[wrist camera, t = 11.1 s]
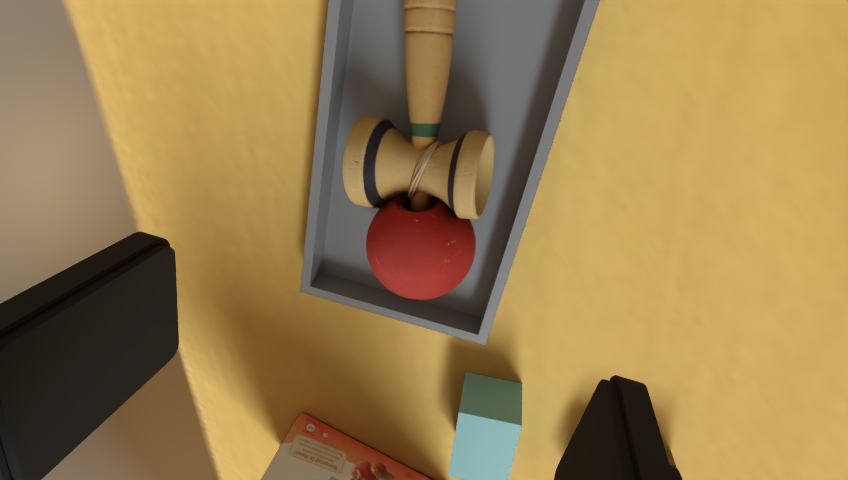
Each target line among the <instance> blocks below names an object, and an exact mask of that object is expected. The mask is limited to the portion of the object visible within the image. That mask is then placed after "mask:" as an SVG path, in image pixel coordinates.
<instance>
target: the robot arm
mask: <svg viewBox="0 0 848 480" xmlns="http://www.w3.org/2000/svg"><path fill="white" fill-rule="evenodd" d="M178 345H179V336H178V312H177V287H176V263H175V252H174V250H173V249H172V248H171V247H170V244H169V242H168V241H167V240H166V239H164V238H161V237H157V236H154V235H151V234H147V233H144V232H136V233H134V234H132V235H130V236H128V237H126V238H124V239H122V240H120V241H119V242H117V243H115V244H113V245H111V246H109V247H107V248H105V249H104V250H101V251H100V252H98V253H96V254H94V255H92V256H90V257H88V258H86V259H84V260H83V261H81V262H79V263H77V264H75V265H73V266H71V267H69V268H67V269H65V270H64V271H62V272H60V273H58V274H56V275H54V276H52V277H50V278H48V279H47V280H45V281H43V282H41V283H39V284H37V285H35V286H33V287H31V288H29V289H28V290H26V291H24V292H22V293H20V294H18V295H16V296H14V297H12V298H11V299H9V300H7V301H5V302H3V303H1V304H0V480H41V479H42V478H43V477H44V476H46V475H47V474H48V473H49V472H50V471H51V470H52V469H53V468H54V467H55V466H56V465H58V464H59V463H60V462H61V461H62V460H63V459H64V458H65V457H66V456H67V455H68V454H69V453H70V452H72V451H73V450H74V449H75V448H76V447H77V446H78V445H79V444H80V443H81V442H82V441H83V440H85V439H86V438H87V437H88V436H89V435H90V434H91V433H92V432H93V431H94V430H95V429H96V428H98V427H99V426H100V425H101V424H102V423H103V422H104V421H105V420H106V419H107V418H108V417H109V416H110V415H112V414H113V413H114V412H115V411H116V410H117V409H118V408H119V407H120V406H121V405H122V404H123V403H125V401H127V400H128V399H129V398H130V397H131V396H132V395H133V394H134V393H135V392H136V391H138V390H139V389H140V388H141V387H142V386H143V385H144V384H145V383H146V382H147V381H148V380H149V379H150V378H152V377H153V376H154V375H155V374H156V373H157V372H158V371H159V370H160V369H161V368H162V367H164V366H165V365H166V364H167V363H168V362H169V361H170V360H171V359H172V358H173V356H174V355H175V353H176V351H177V349H178ZM554 480H682V477H681V475H680V473H679V470H678V469H677V468H676V467H675V466H674V465H671V464H669V461H668V458H667V454H666V451H665V447H664V444H663V441H662V437H661V434H660V431H659V427H658V424H657V420H656V417H655V414H654V410H653V407H652V403H651V400H650V397H649V393H648V390H647V387H646V385H644V384H643V383H640V382H637V381H633V380H630V379H627V378H623V377H620V376H617V375H615V376H613V377H611V379H610V380H609V381H608V380H604V379H602V380H601V381H600V382H599V384H598V386H597V388H596V390H595V392H594V394H593V396H592V398H591V400H590V402H589V404H588V406H587V408H586V410H585V412H584V414H583V416H582V418H581V420H580V422H579V424H578V426H577V428H576V430H575V432H574V434H573V436H572V438H571V440H570V442H569V444H568V446H567V448H566V450H565V452H564V454H563V456H562V458H561V460H560V462H559V464H558V467H557V469H556V473H555V477H554Z"/></svg>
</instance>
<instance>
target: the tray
mask: <svg viewBox="0 0 848 480" xmlns="http://www.w3.org/2000/svg"><path fill="white" fill-rule="evenodd" d="M599 1H600V0H458V4H457V11H456V12H455V14H456V22H455V31H454V33H453V34H452V36H453V38H454V39H453V49H452V58H451V65H450V72H449V79H448V85H447V91H446V97H445V103H444V107H443V113H442V118H441V122H440V128H439V131H438V140H439V142H441V143H442V144H443V145H444V144H448V143H451V142H453V141H455V140H457V139H459V138H461V137H462V136H463V135H465V134H466V133H467V132H469V131H472V130H479V131H484V132H489V133H491V134H492V137H493V139H494V150H495V153H494V171H493V178H492V184H491V190H490V194H489V198H488V201H487V204H486V207H485V210H484V212H483V214H482V215H481V216H480V217H479V218H478V219H470V221H471V223H472V226H473V229H474V233H475V238H476V249H475V256H474V260H473V263H472V266H471V268H470V270H469V272H468V274H467V275H466V277H465V278H464V279H463V281H462V282H461V283H460V284H459V285H458V286H457V287H456V288H454V289H453V290H451V291H450V292H448V293H446V294H444V295H442V296H439V297H436V298H432V299H425V300H417V299H409V298H405V297H402V296H399V295H397V294H395V293H393V292H392V291H390V290H389V289H387V288H386V287H385V286H384V285H383V284H382V283H381V282H380V281H379V280H378V279H377V277H376V276H375V274H374V273H373V271H372V269H371V267H370V264H369V261H368V258H367V252H366V237H367V232H368V229H369V226H370V223H371V221H372V220H373V218H374V216H375V215H376V213H377V212H378V210H379V209H380V208H370V207H365V206H360V205H356V204H354V203H353V202H352V201H351V200H350V199H349V197H348V195H347V193H346V190H345V187H344V182H343V175H342V163H343V154H344V149H345V144H346V141H347V138H348V135H349V133H350V131H351V129H352V127H353V126H354V124H355V123H356V122H357V121H358V120H359V119H360V118H362V117H365V116H370V117H386V118H388V119H389V120H390V121H391V122H392V123H393V125H394V126H395V127H396V129H397V130H398V131H399V132H400V133H401V134H402V135H403V136H405V137H406V138H408V139H409V140H411V128H410V119H409V109H408V99H407V88H406V73H405V45H404V36H405V34H406V32H405V31H404V11H405V9H404V0H329V3H328V13H327V23H326V33H325V43H324V54H323V64H322V74H321V84H320V94H319V105H318V115H317V125H316V135H315V146H314V156H313V166H312V176H311V186H310V197H309V207H308V217H307V227H306V237H305V248H304V258H303V268H302V278H301V289H300V292H303V293H307V294H310V295H314V296H317V297H320V298H324V299H327V300H331V301H334V302H338V303H341V304H345V305H348V306H351V307H355V308H358V309H362V310H365V311H369V312H372V313H376V314H379V315H383V316H386V317H389V318H393V319H396V320H400V321H403V322H407V323H410V324H414V325H417V326H420V327H424V328H427V329H431V330H434V331H438V332H441V333H445V334H448V335H451V336H455V337H458V338H462V339H465V340H469V341H472V342H476V343H479V344H483V345H485V344H486V341H487V338H488V335H489V332H490V329H491V326H492V323H493V320H494V317H495V314H496V311H497V308H498V305H499V302H500V299H501V296H502V293H503V290H504V287H505V284H506V281H507V278H508V275H509V272H510V269H511V266H512V263H513V260H514V257H515V254H516V251H517V248H518V245H519V242H520V239H521V236H522V233H523V230H524V227H525V224H526V221H527V218H528V215H529V212H530V209H531V206H532V203H533V200H534V197H535V194H536V191H537V188H538V185H539V182H540V179H541V176H542V173H543V170H544V167H545V164H546V161H547V158H548V155H549V152H550V149H551V146H552V143H553V140H554V137H555V134H556V131H557V128H558V125H559V121H560V118H561V115H562V112H563V109H564V106H565V103H566V100H567V97H568V94H569V91H570V88H571V85H572V82H573V79H574V76H575V73H576V70H577V67H578V64H579V61H580V58H581V55H582V52H583V49H584V46H585V43H586V40H587V37H588V34H589V31H590V28H591V25H592V22H593V19H594V16H595V13H596V10H597V7H598V4H599ZM411 141H412V140H411Z"/></svg>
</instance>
